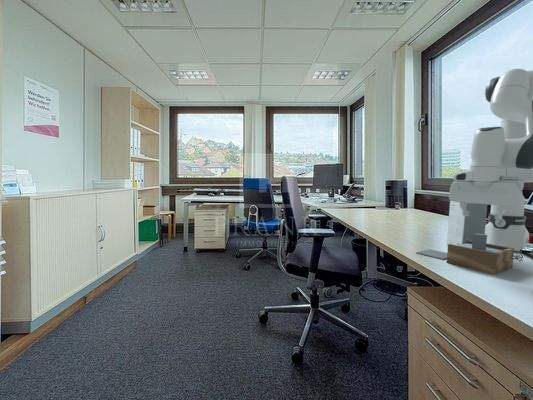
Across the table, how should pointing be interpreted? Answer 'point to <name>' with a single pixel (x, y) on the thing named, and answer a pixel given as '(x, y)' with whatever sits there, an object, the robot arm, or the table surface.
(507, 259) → the walnut box
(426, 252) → the felt mat
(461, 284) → the table surface
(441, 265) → the table surface
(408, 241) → the table surface
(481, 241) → the cover plate
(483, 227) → the hard drive box
